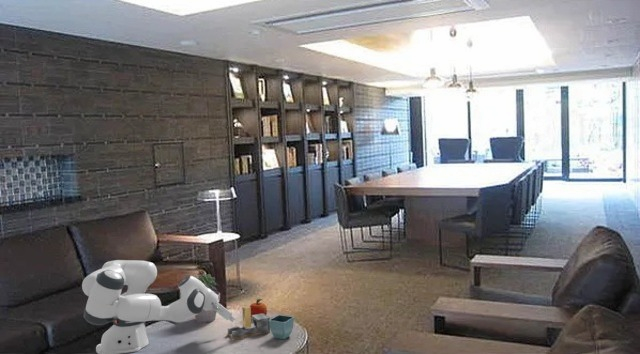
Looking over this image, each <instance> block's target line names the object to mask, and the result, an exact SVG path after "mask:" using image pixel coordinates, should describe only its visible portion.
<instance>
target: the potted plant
mask: <svg viewBox="0 0 640 354" xmlns="http://www.w3.org/2000/svg"><path fill="white" fill-rule="evenodd" d="M197 276H198V277H196V278H197V279H198V280H200V281H201V282H202V283H203V284H204V285H205V286H206V287H207V288H209V289H211V290H212V291H213V292H214V293H216V294H217V295H218V299H219V303H220V301H221V293H222V292H221V291H220V290H219V289H217V288H216V287H217V286H218V287H219V284H218V283H217V281H216V278H215V277H213V276H212V275H211V273H209V274H206V273H205V271H204V270H202V269H199V270H198V273H197ZM220 292H221V293H220ZM217 314H218V313H217V312H216V311H214V310H211V311H210V310H208V311H205V310H204V309H203V310H202V311H201V312H200V313H199V314H197V315H195V316H194V318H195V321H196V322H197V323H211V322H213V321H215V320H216V317H217Z"/></svg>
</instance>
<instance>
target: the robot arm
mask: <svg viewBox="0 0 640 354" xmlns="http://www.w3.org/2000/svg"><path fill="white" fill-rule="evenodd" d="M157 276H158V269H157V266H156V265H155V263H153V262H151V261H147V260H137V259H135V260H134V259H133V260H129V259H128V260H125V259H116V260H109V261H107V262H105V263H104V264H103V265H102V267H101V268H99V269H97V270H95V271H92V272H91V273H90V274H88V275H86V277H84V279H83V281H82V284H81V289H82V292H83V293H84V295H86V296H87V297H88V299H87V302H86V305H85V307H84V308H83V309H84V310H83V318H84V320H85V321H86V322H87V323H89V324H90V325H93V326H104V325H107V324H109V323H113V325H112V326H110V327H109V328H108V330H106V331H105V332H104V333H103V334H102V336H101V340H100V343H99V344H97V345H96V347H95V352H96V354H127V353H134V352H135V353H136V352H138V351H140V350H141V349H143V348H144V347H147V346H148V345H149V344H150V342H149V339H148V336H147V330H146V322H149V321H150V322H151V321H152V322H153V321H155V322H168V323H170V324H171V325H176V326H177V325H181V324H182V323H185V321H187V320H190V319H191V318H193V317H195V315H197V314H199V313H200V312H201V311H202V310H203V309H204V310H205V311H208V310H210V311H211V310H214V311H216V312H217V313H216V314H218V315H219V316H220V317H222V318H223V319H225V320H226V321H228V320H229V321H231V322H232V323H233V322H234V321H235V320H236V318H235V317H233V316H232V314H233V313H232V312H231V311H230V310H228V309H227V308H226V306H225V307H224V306H223V305H222V304H221V303H220V302H219V299H218V295H217V294H216V293H214V292H213V291H212V290H211V289H209V288H207V287H206V286H205V285H204V284H203V283H202V282H201V281H200V280H198V279H197V278H198V277H195V276H194V275H188V276H186V277H184V278H183V279H182V280H180V282H179V283H178V286H177V287H178V289H179V290H180V298H179V299H177V300H176V301H173V302H171V303H169V304H168V305H162V301H161V299H160V298H159V297H158V296H157V295H156V294H152V293H146V291H147V289H148V287H149V286H150V285H151V284H153V283H154V282H155V281H156V279H157ZM124 286H127V290H126V292H124V293H122V290H123V289H124Z"/></svg>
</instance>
